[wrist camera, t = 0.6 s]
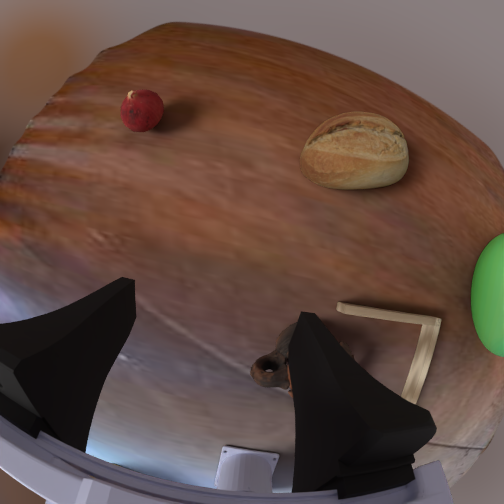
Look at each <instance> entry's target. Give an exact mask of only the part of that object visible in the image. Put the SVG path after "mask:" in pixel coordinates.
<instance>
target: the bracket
mask: <svg viewBox="0 0 504 504" xmlns="http://www.w3.org/2000/svg"><path fill="white" fill-rule="evenodd" d="M336 310H338V311H340V312H342V313H344V314H350V315H357V316H363V317H370V318H377V319H384V320H392V321H399V322H407V323H415V324H423V325H422V329H421V333H420V337H419V341H418V345H417V348H416V352H415V355H414V359H413V362H412V365H411V368H410V372H409V375H408V378H407V381H406V384H405V387H404V389H403V392H402V395H401V397H402V398H404V399H406V400H407V401H409V402H411V403H413V404H415V405H416V402H417V400H418V397H419V394H420V392H421V389H422V386H423V383H424V380H425V377H426V374H427V371H428V368H429V365H430V362H431V359H432V355H433V352H434V348H435V344H436V341H437V337H438V333H439V328H440V324H441V320H442V319H440V318H436V317H432V316H427V315H420V314H413V313H406V312H399V311H392V310H386V309H379V308H373V307H367V306H361V305H355V304H349V303H343V302H338V304H337V308H336Z"/></svg>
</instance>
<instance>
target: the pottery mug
mask: <svg viewBox="0 0 504 504" xmlns="http://www.w3.org/2000/svg"><path fill="white" fill-rule="evenodd" d="M296 325H297V322H296V323H294V324H292V325H290V326H289V327H287V328H286V329H285V330H284V331H282V333H281V334H280V335H279V337H278V338H277V340H276V350H275V351H273V352H272V353H270V354H268V355H265V356H262V357H260V358H259V359H257V360H256V362H255V363H254V364H253V365H252V367H251V371H250V375H251V376H252V377H253V379H254V381H255V382H256V383H257V384H259V385H260V386H263V387H280V388H282V389H288V388H289V386H290V388H291V390H289V391H288V393H289V394H290V396H291V397H293V393H292V387H291V380H290V373H289V364H288V365H286V358H288V346H289V343H290V340H291V338H292V335H293V333H294V330H295V327H296ZM339 344H340V345H341V346H342V347H343V348H344V350H345V351H346V352H347V353H348V354H349V355H350V356H351V357H352V358H353V359H354V355H352V354H351V352H350V350H349V347H348V345H347V344H346V343H344V342H342V341H341V342H340V343H339ZM268 369H271V370H272V371H273V372H266V370H268Z"/></svg>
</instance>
